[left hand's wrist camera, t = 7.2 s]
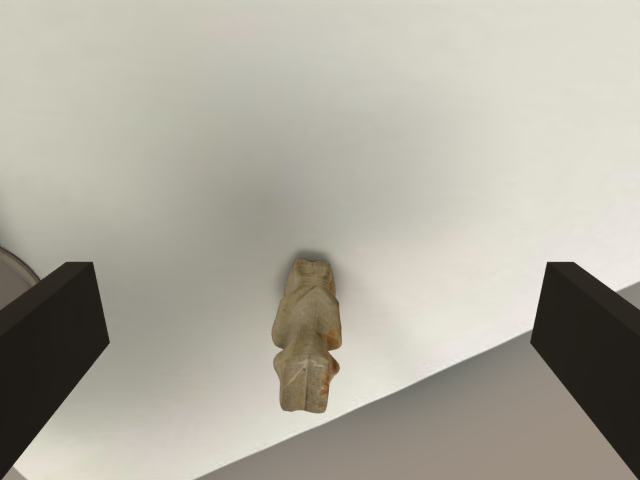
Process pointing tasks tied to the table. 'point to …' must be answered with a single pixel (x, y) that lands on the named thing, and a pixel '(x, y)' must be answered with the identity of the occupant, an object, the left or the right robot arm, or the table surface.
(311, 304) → the sculpture
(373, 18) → the table surface
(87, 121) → the table surface
